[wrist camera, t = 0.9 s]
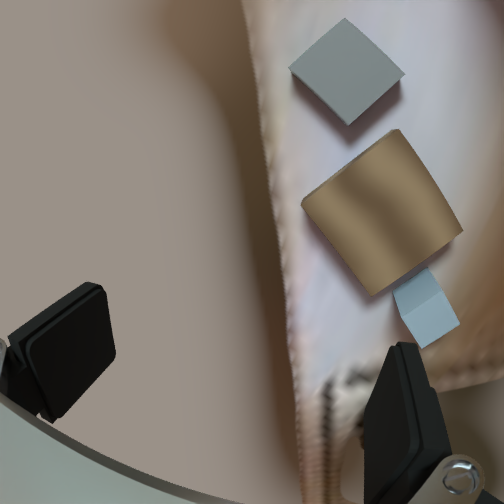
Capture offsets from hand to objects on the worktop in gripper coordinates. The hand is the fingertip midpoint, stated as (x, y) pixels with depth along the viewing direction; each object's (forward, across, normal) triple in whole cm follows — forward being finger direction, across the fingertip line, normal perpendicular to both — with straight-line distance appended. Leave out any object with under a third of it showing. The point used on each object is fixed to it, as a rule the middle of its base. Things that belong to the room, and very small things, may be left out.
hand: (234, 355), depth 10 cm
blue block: (+26, -15, +9) cm, 32 cm away
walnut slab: (+27, -8, 0) cm, 28 cm away
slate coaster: (+26, -3, -14) cm, 30 cm away
